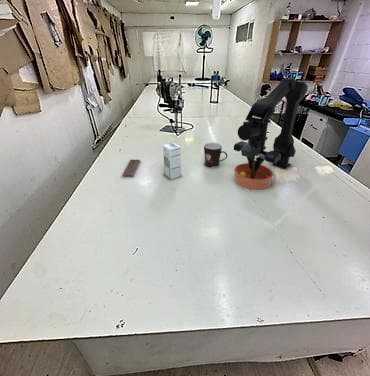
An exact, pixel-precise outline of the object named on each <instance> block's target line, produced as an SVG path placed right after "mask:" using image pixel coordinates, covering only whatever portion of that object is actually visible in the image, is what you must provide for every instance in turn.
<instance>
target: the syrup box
mask: <svg viewBox="0 0 370 376" xmlns="http://www.w3.org/2000/svg"><path fill="white" fill-rule="evenodd" d="M162 149H163V169H164V170H163V173H164V176H166V177H167V178H168V179H169V180H174V179H176V178H179V177H181V176H182V154H181V153H182V148H181V146H180V144H179V145H178V144H177V143H175V142H169V143H165V144H162Z"/></svg>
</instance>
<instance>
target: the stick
mask: <svg viewBox="0 0 370 376" xmlns="http://www.w3.org/2000/svg"><path fill="white" fill-rule="evenodd" d="M255 166H256V159H254V160H253V161H252V167H251V175H250V178H251V179H255V174H256V171H255Z"/></svg>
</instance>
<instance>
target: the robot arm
mask: <svg viewBox="0 0 370 376" xmlns="http://www.w3.org/2000/svg"><path fill="white" fill-rule="evenodd" d="M308 89H309V85H308V84H307V83H306V81H298V80H296V79H294V78H288V77H287V78H286V77H285V78H284V77H283V78H282V79H281V80H280V81H279V83H278V84H277V85H276V86H275V88H273V90H271V92H269V93H268V94H267V96H265V97H262V98H259V99H258V100H256V101H255V102H254V103H253V104H252V106H251V107H250V109H249V111H248V113H247V115H246V117H245V120H244V121H243V122H242V125H240V126H239V127H238V129H237V136H238V138H239V139H240V140H241V141H238V142H235V143H234V145H233V151H236V152H239V153H240V154H241V156H243V157H246V159H247V163H249V167H250V169H251V167H252V161H253V160H256V166H255V171H257V170H258V169H259V167H260V166H261V165H262V164H263V162H268V163H270V164H272V165H273V166H275V167H278V168H280V169H284V170H286V169H287V168H289V167H290V166H292V164H291V163H289V161H290V158H294V157H295V154H296V151H297V150H296V148H295V145H294V144H295V140H294V136H293V130H294V126H295V122H296V117H297V114H298V110H299V104H300V103H301V101H302V100H304V98H305V96H306V94H307V92H308ZM284 98H285V100H286V105H285V109H284V115H283V119H282V124H281V129H280V133H279V134H278V135H277V136H276V137H274V142H273V143H272V144H273V145H272V148H273V149H272V150H270V151H266V149H267V146H266V141H267V140H268V136H267V132H268V128H269V124H270V123H271V122H272V121H271V118H272V117H273V115H274V114H275V112H276V106H277V105H278V104H279V103H280V102H281V101H282V100H283V99H284Z"/></svg>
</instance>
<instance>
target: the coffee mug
mask: <svg viewBox="0 0 370 376" xmlns="http://www.w3.org/2000/svg"><path fill="white" fill-rule="evenodd" d="M222 149H223V145H222V144H220V143H218V142H207V143H204V144H203V151H204V166H205V167H207V168H210V169H211V168H214V167H218V166H219V163H221V162H224V161H225V160H226V159H227V158H228V153H227V152H226V151H224V150H222ZM222 153H224V155H225V157H224V158H223V159H221V154H222Z"/></svg>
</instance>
